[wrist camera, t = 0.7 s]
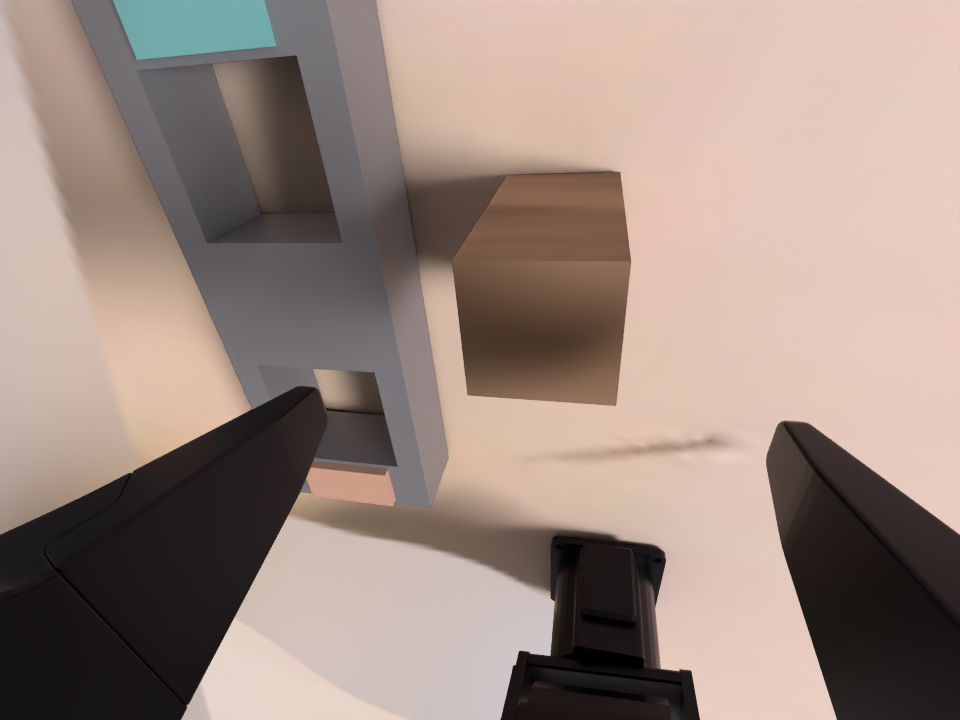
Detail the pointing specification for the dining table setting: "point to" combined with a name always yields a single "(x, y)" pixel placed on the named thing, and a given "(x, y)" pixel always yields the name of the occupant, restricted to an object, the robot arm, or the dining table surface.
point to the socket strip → (290, 220)
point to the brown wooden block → (546, 290)
